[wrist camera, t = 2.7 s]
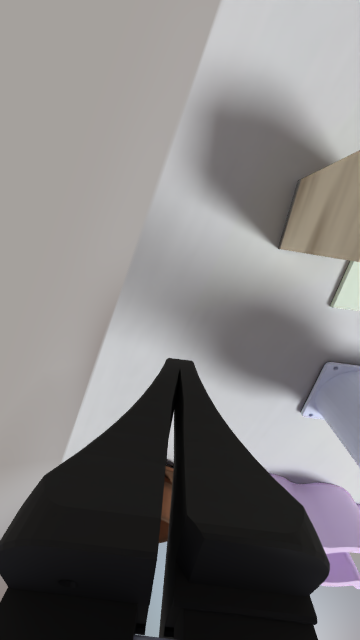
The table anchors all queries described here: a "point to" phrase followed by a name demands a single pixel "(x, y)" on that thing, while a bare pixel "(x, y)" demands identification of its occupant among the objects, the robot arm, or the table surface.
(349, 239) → the maple block
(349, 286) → the mat
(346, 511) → the clip
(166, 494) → the cup and saucer
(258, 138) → the table surface
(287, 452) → the table surface
